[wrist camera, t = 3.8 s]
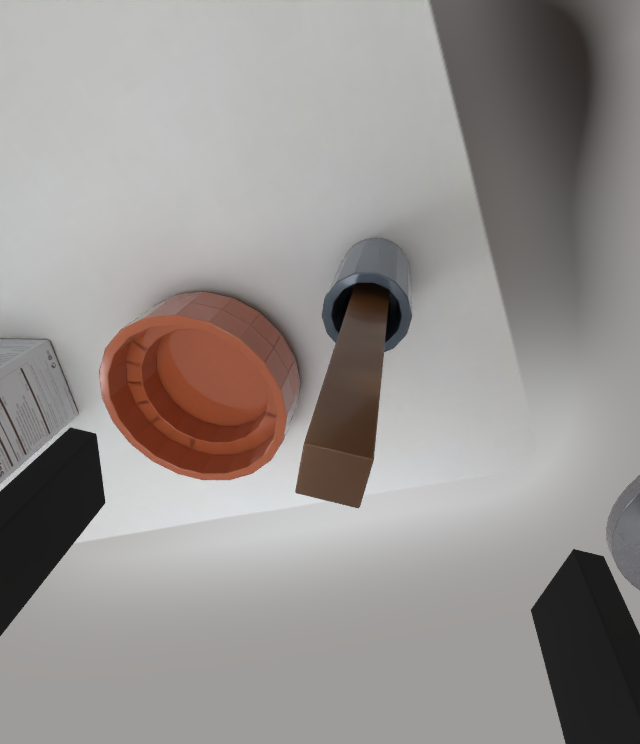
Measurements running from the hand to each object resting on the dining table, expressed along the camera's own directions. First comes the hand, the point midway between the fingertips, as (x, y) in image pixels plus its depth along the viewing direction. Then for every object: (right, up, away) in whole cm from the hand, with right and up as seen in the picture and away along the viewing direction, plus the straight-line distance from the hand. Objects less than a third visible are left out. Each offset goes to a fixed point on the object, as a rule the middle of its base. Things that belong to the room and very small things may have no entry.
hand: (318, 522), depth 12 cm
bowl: (-9, +4, +28) cm, 30 cm away
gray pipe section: (+4, +12, +21) cm, 25 cm away
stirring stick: (+4, +11, +21) cm, 24 cm away
